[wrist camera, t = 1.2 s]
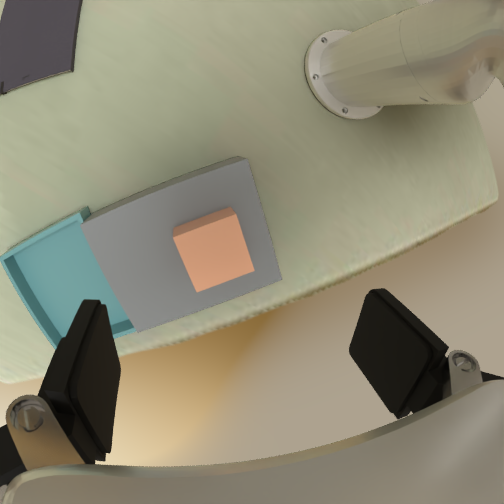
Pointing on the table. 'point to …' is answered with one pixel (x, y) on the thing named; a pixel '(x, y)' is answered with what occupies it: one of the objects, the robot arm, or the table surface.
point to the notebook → (37, 40)
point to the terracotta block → (213, 249)
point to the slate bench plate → (165, 250)
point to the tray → (61, 278)
